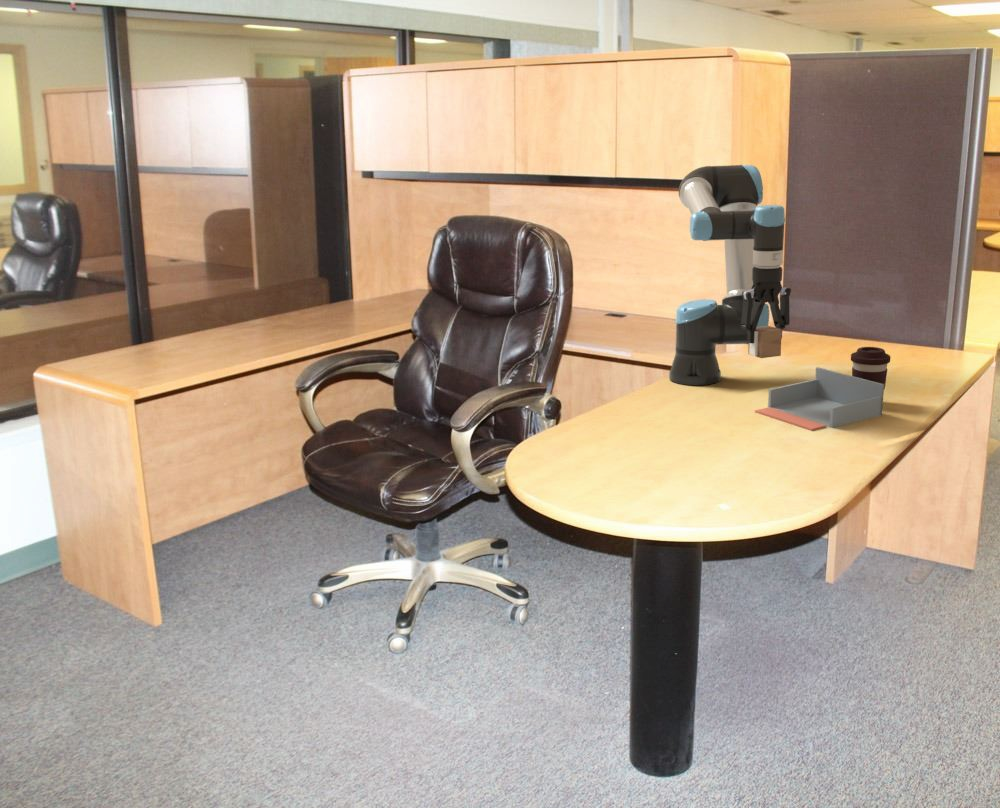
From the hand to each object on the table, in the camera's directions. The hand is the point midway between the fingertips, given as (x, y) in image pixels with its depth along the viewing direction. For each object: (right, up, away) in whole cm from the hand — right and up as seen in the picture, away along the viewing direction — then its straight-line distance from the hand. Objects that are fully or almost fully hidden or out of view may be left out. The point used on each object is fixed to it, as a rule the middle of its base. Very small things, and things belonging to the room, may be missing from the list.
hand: (764, 353), depth 269 cm
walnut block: (0, 0, 0) cm, 0 cm away
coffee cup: (+29, -13, +5) cm, 33 cm away
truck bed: (+15, -16, -3) cm, 22 cm away
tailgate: (+6, -17, -8) cm, 20 cm away
